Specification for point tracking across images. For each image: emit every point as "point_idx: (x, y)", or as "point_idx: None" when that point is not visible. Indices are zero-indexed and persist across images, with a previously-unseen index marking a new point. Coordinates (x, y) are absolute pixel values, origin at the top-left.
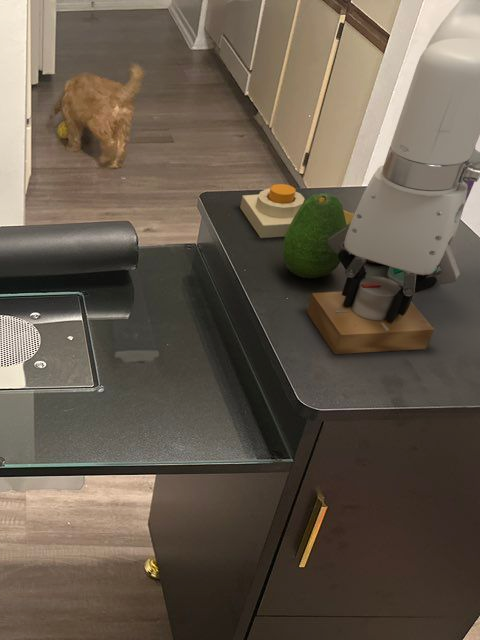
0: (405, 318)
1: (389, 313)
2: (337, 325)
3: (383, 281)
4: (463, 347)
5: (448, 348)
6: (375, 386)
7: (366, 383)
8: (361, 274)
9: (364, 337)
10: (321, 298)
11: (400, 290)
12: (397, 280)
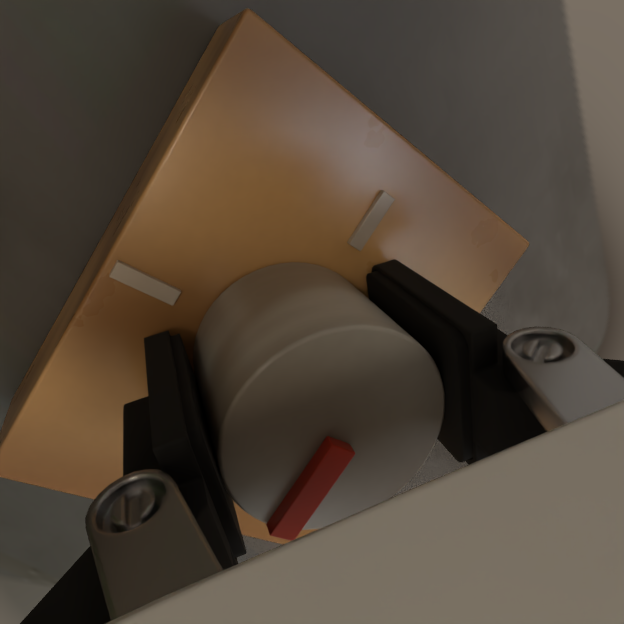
0: (420, 274)
1: None
2: (263, 531)
3: (326, 383)
4: (553, 90)
5: (517, 143)
6: (431, 478)
7: (410, 489)
8: (214, 508)
9: None
10: (62, 467)
11: (465, 422)
12: None
